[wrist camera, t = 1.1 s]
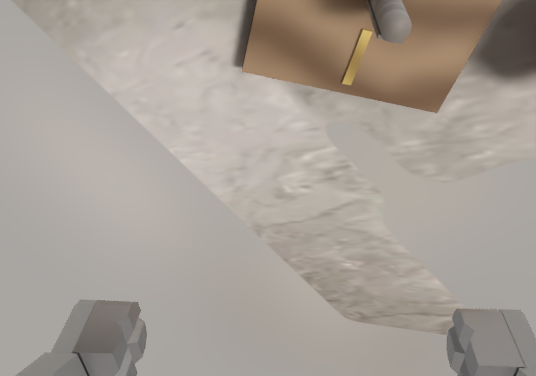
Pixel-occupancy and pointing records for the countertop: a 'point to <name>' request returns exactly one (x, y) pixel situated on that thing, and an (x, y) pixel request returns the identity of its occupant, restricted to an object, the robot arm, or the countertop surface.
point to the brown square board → (368, 45)
